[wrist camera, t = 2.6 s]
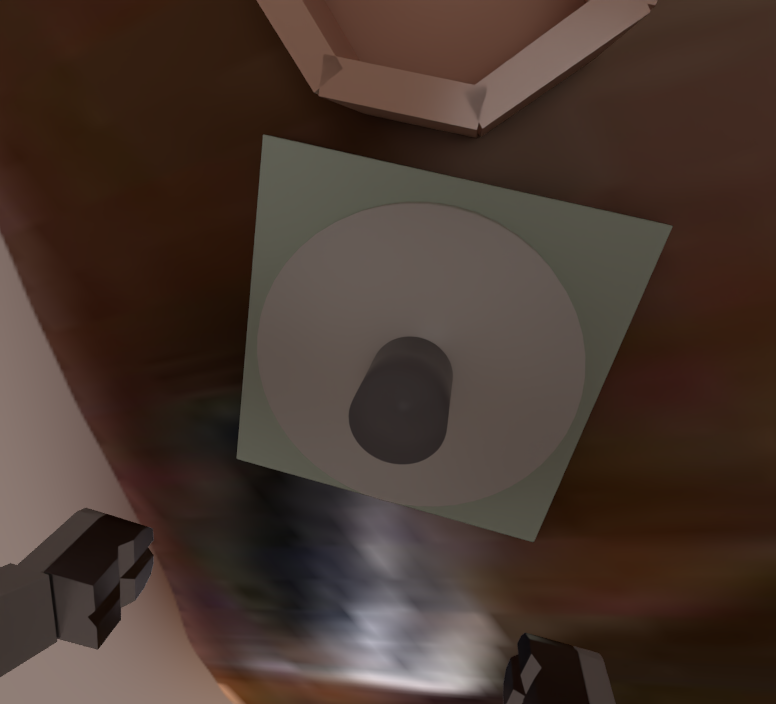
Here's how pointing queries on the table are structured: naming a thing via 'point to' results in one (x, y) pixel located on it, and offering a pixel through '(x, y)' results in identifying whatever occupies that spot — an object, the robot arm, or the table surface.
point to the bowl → (446, 53)
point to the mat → (508, 207)
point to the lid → (421, 354)
